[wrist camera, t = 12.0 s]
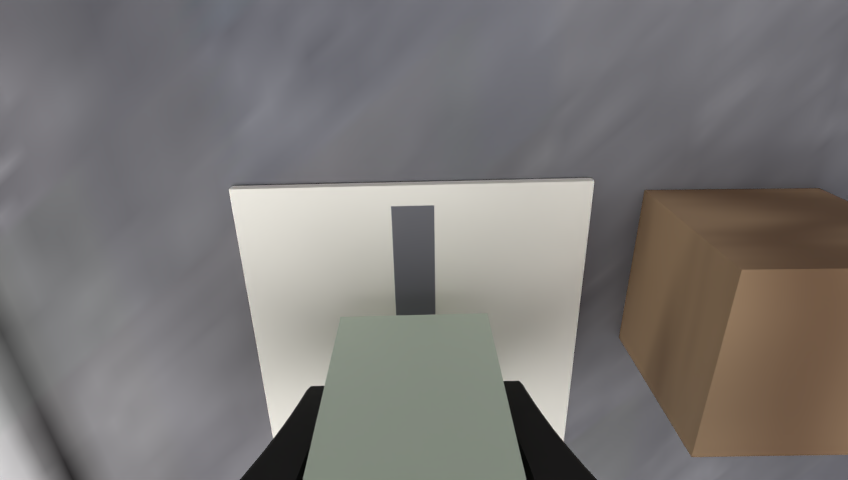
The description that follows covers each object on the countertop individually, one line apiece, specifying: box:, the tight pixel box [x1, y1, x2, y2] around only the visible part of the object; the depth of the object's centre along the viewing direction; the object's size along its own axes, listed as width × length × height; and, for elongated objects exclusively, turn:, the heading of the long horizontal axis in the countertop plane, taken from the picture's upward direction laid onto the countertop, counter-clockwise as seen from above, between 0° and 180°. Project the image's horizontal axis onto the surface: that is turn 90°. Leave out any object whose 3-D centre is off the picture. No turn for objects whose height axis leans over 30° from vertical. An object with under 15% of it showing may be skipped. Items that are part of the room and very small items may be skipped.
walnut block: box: [619, 188, 848, 457], centre depth 14 cm, size 5×5×5 cm
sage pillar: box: [303, 313, 526, 480], centre depth 13 cm, size 4×4×6 cm
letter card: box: [229, 178, 594, 442], centre depth 17 cm, size 10×10×1 cm
